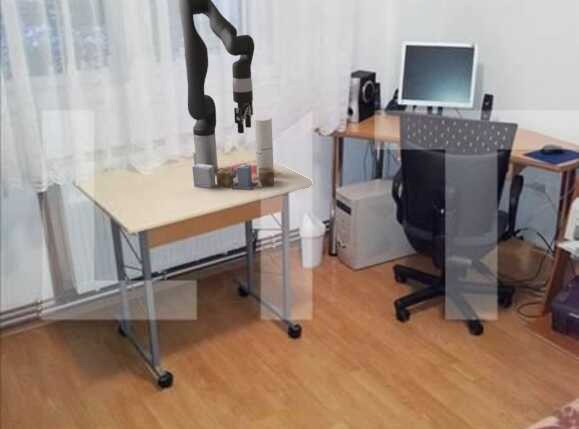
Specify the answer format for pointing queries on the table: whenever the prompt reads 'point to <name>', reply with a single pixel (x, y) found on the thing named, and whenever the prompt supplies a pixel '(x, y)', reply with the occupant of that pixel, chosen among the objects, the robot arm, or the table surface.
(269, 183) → the bearing block
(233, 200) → the table surface
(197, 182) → the medicine box
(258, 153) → the cylindrical container
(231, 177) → the bearing block
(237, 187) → the pad
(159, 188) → the table surface
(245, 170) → the block
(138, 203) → the table surface
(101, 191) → the table surface
